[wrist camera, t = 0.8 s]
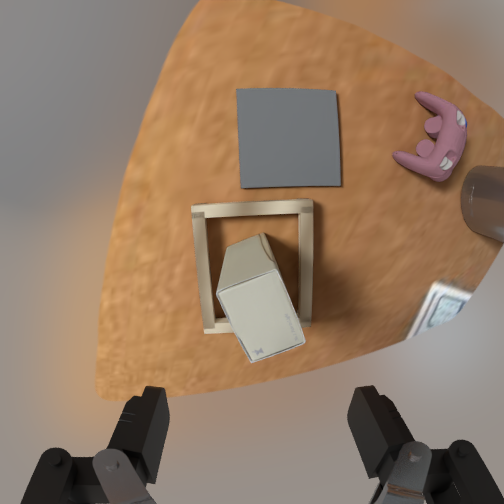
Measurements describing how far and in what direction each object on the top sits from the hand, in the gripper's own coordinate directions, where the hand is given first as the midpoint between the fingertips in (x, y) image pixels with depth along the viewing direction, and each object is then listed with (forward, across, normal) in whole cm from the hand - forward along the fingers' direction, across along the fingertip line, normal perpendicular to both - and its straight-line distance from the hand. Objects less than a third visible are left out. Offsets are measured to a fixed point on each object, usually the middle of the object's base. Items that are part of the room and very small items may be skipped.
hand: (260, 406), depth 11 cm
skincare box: (+21, -1, 0) cm, 21 cm away
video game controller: (+21, -19, -15) cm, 32 cm away
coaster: (+20, -4, -13) cm, 24 cm away
